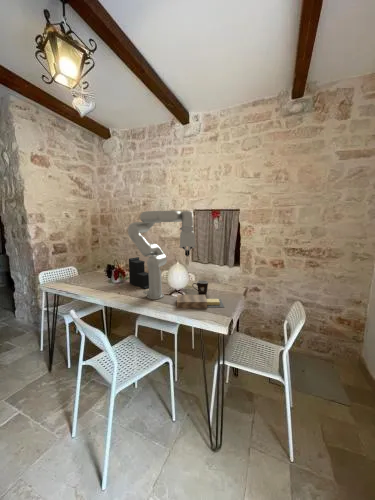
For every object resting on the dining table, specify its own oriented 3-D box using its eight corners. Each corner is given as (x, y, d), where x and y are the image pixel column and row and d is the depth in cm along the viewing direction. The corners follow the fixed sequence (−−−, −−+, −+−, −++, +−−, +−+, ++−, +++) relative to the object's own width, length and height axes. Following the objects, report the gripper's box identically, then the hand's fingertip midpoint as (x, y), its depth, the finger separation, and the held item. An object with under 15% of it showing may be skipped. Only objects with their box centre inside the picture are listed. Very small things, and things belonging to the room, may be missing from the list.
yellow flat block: (206, 304, 149) (206, 302, 149) (205, 301, 155) (205, 298, 155) (219, 304, 149) (219, 302, 149) (218, 301, 155) (218, 298, 155)
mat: (207, 307, 145) (207, 307, 145) (205, 299, 159) (205, 299, 159) (224, 307, 145) (224, 307, 145) (220, 299, 159) (220, 299, 159)
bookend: (155, 286, 190) (154, 260, 187) (144, 289, 182) (144, 261, 179) (139, 281, 206) (138, 256, 202) (129, 284, 198) (128, 258, 195)
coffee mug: (209, 293, 172) (210, 281, 171) (204, 296, 165) (204, 284, 164) (197, 291, 178) (197, 279, 177) (191, 294, 171) (191, 281, 170)
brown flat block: (177, 307, 145) (177, 302, 144) (177, 300, 158) (177, 294, 158) (207, 307, 145) (207, 301, 144) (205, 299, 159) (205, 294, 158)
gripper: (176, 229, 143) (176, 257, 146) (198, 229, 144) (198, 257, 146) (176, 229, 151) (176, 255, 153) (198, 229, 151) (197, 255, 154)
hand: (187, 256), depth 150 cm, fingers closed
